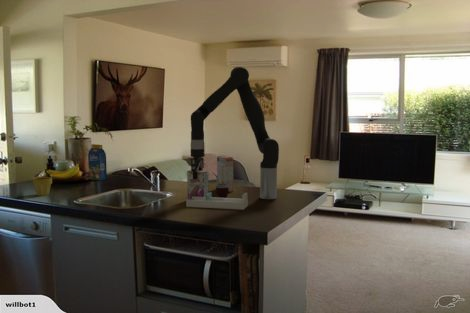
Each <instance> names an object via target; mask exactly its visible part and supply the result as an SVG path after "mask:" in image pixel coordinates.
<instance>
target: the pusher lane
mask: <svg viewBox="0 0 470 313" xmlns="http://www.w3.org/2000/svg"><path fill="white" fill-rule="evenodd" d="M248 201H249V200H248V192H244V193H243V194H242V195H241V198H237V197H236V198H235V197H234V198H233V197H227V198H225V201H222V200H212V201H207V200H206V197H194V196H192V199H190V200H188V199H186V202H185V204H186V206H185V207H187V208H205V209H206V208H207V209H221V210H222V209H223V210H224V209H225V210H240V211H241V210H243V211H244V210H245V209H246V208H247V207H248V205H249V204H248V203H249V202H248Z"/></svg>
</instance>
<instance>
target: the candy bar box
mask: <svg viewBox="0 0 470 313" xmlns="http://www.w3.org/2000/svg"><path fill="white" fill-rule="evenodd" d="M186 174H187V178H186V179H187V200H190V199H192V196H194V197H206V194H208V193H210V192H209V183H210V182H209V171H207V170H202V171H199V170H197V179H193V172H192V171H191V169H189V170H187V171H186Z"/></svg>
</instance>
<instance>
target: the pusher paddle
mask: <svg viewBox="0 0 470 313" xmlns="http://www.w3.org/2000/svg"><path fill="white" fill-rule="evenodd" d="M212 193H213V192H209V193H208V194H206V200H207V201H212V200H222V201H225V198H218V196H217V197H213V195H212Z"/></svg>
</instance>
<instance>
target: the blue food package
mask: <svg viewBox="0 0 470 313" xmlns="http://www.w3.org/2000/svg"><path fill="white" fill-rule="evenodd" d="M90 147H91V148H90V149H89V151H88V153H87V161H88V164H87V166H88V179H89V180H91V181H101V182H102V181H106V180H108V175H107V174H108V173H107V154H106V153H107V152H106V151H105V150H104V149H103V144H95V143H93V144H92V143H91V145H90Z"/></svg>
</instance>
